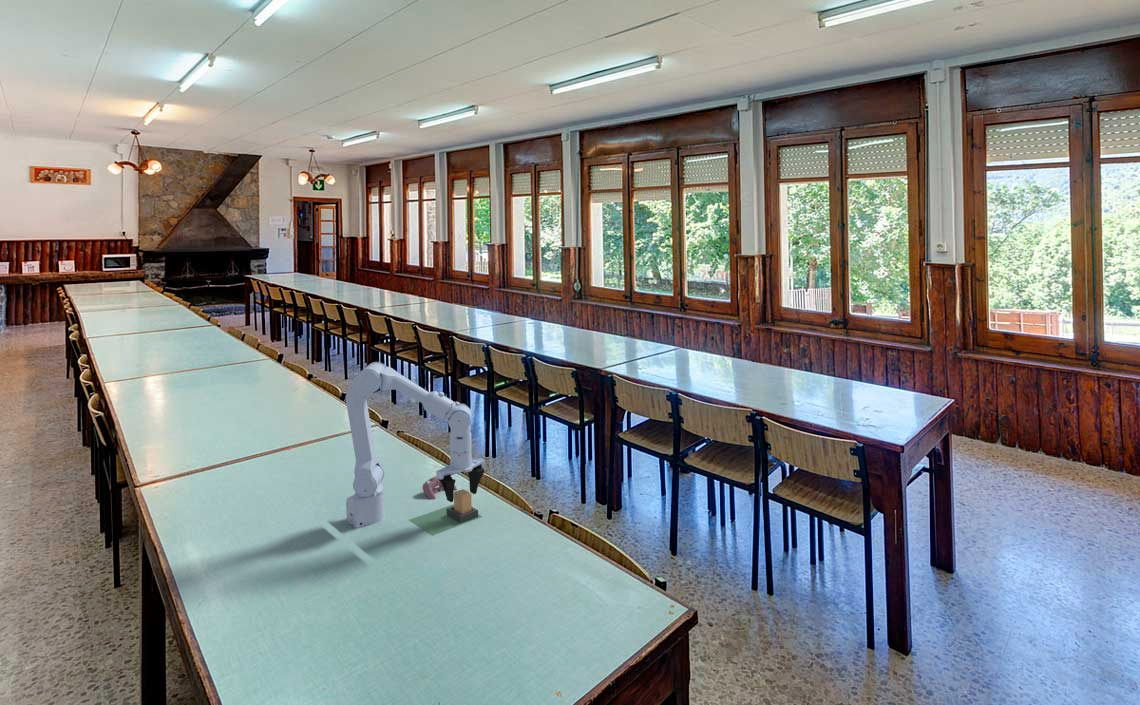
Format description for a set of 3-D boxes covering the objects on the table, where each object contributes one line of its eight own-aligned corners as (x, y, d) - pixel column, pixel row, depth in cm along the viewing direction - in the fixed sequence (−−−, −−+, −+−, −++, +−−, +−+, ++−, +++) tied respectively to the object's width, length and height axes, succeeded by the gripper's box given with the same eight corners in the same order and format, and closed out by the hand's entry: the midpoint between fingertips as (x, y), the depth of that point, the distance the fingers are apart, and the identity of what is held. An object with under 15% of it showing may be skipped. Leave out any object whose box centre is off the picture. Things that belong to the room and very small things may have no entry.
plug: (462, 520, 167) (462, 496, 166) (454, 515, 170) (453, 492, 169) (471, 517, 169) (471, 493, 168) (463, 512, 172) (462, 489, 171)
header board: (432, 539, 159) (432, 528, 158) (409, 523, 167) (408, 512, 167) (482, 520, 170) (482, 509, 169) (458, 506, 178) (458, 496, 178)
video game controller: (450, 494, 190) (443, 473, 191) (459, 492, 187) (452, 470, 188) (425, 505, 183) (417, 482, 183) (433, 502, 180) (426, 479, 181)
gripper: (446, 460, 158) (447, 509, 161) (491, 447, 168) (491, 493, 171) (431, 453, 163) (432, 500, 166) (476, 441, 173) (476, 486, 176)
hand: (461, 496), depth 169 cm, fingers open, 7 cm apart
